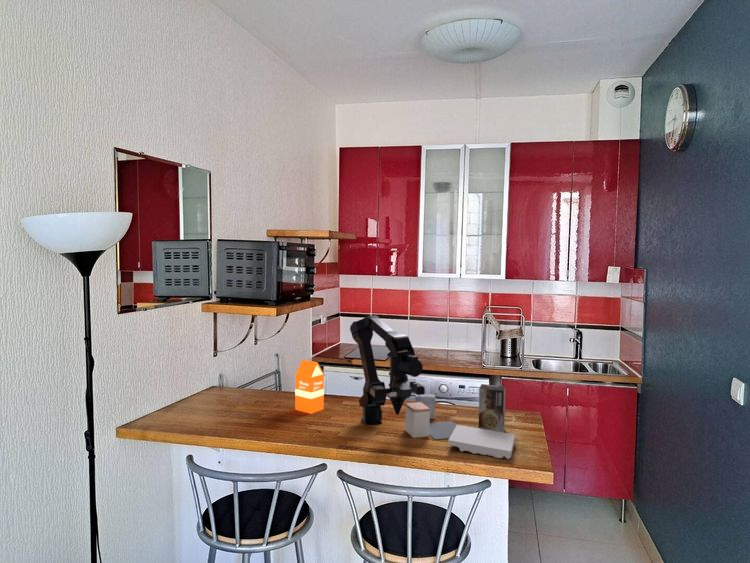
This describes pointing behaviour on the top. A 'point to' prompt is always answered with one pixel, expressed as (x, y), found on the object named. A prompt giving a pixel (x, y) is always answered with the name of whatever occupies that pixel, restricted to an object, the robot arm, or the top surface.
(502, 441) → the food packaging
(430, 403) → the medicine box
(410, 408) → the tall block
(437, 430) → the mat
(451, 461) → the top surface
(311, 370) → the orange juice
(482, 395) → the coffee box
